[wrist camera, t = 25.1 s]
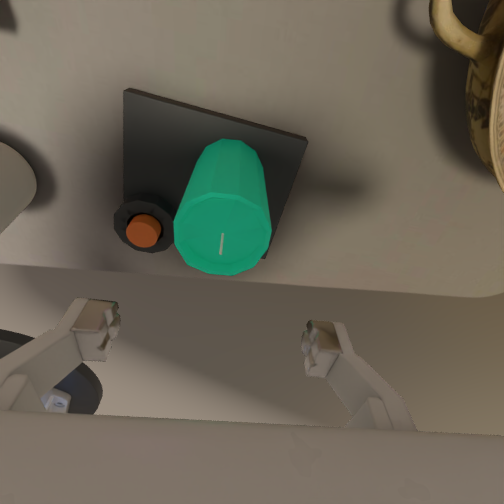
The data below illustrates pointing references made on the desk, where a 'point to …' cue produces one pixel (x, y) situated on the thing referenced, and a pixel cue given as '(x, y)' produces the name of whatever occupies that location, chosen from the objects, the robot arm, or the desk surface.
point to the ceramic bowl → (479, 77)
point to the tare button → (143, 230)
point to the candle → (224, 211)
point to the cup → (14, 185)
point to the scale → (191, 159)
